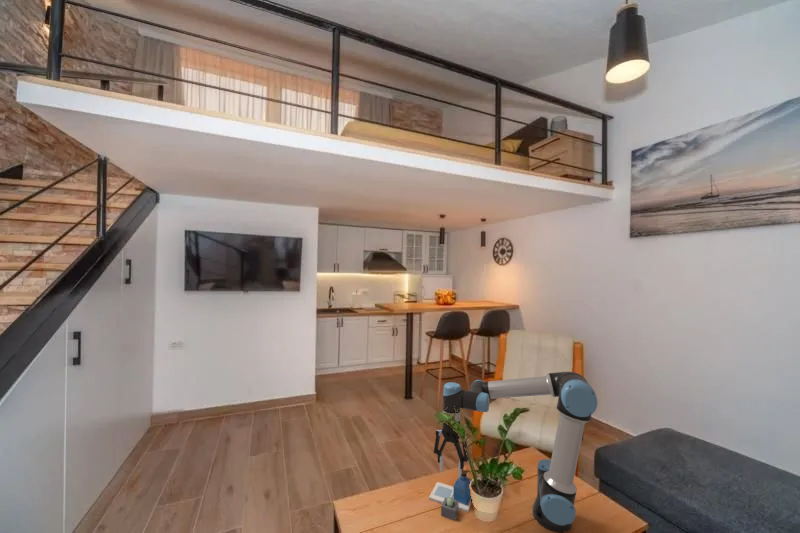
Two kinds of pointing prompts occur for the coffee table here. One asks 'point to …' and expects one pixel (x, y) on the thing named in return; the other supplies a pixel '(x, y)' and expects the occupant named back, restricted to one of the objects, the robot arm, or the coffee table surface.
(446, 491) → the picture board
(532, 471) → the coffee table surface
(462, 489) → the perfume bottle
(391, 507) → the coffee table surface
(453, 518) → the button housing
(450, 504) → the button
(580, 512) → the coffee table surface
